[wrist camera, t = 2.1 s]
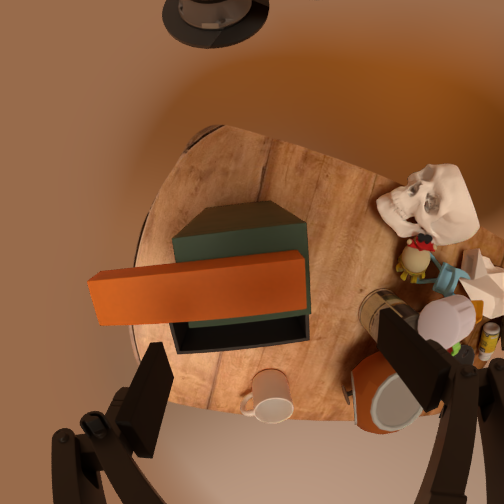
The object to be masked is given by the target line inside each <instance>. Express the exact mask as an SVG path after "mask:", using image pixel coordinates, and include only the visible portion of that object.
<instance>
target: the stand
mask: <svg viewBox="0 0 504 504" xmlns="http://www.w3.org/2000/svg"><path fill="white" fill-rule="evenodd" d="M172 243H173V249H174V255H175V260H176V263H181V262H190V261H199V260H208V259H218V258H227V257H236V256H245V255H254V254H263V253H272V252H281V251H290V250H298V251H299V253H300V254H301V255H302V256H303V257H304V259H305V275H306V301H307V308H306V309H302V310H294V311H287V312H279V313H271V314H262V315H254V316H245V317H235V318H225V319H214V320H202V321H189V322H188V324H189V328H196V327H208V326H219V325H229V324H238V323H247V322H256V321H264V320H272V319H280V318H287V317H294V316H301V315H308V314H311V296H310V273H309V254H308V238H307V224H306V222H304V221H303V220H301V219H299V218H298V217H296V216H295V215H293V214H292V213H290V212H288V211H287V210H285V209H284V208H282V207H280V206H279V205H277V204H276V203H274V202H272V201H271V200H270V201H260V202H251V203H242V204H234V205H226V206H218V207H210V208H206V209H204V210H203V211H202V212H201V213H200V214H199V215H198V216H196V217H195V218H194V219H193V220H192V221H191V222H190V223H189V224H188V225H186V226H185V227H184V228H183V229H182V230H181V231H180V232H179V233H178V234H177V235H175V236H174V237H173V238H172Z"/></svg>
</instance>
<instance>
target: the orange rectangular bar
mask: <svg viewBox="0 0 504 504" xmlns="http://www.w3.org/2000/svg"><path fill="white" fill-rule="evenodd" d="M87 283H88V287H89V291H90V294H91V298H92V302H93V305H94V308H95V311H96V315H97V318H98V321H99V324H100V326H105V325H106V326H107V325H108V326H109V325H138V324H159V323H175V322H189V321H202V320H214V319H225V318H235V317H245V316H254V315H262V314H271V313H279V312H287V311H294V310H302V309H306V308H307V301H306V275H305V259H304V257H303V256H302V255H301V254H300V253H299V251H298V250H290V251H281V252H272V253H263V254H254V255H245V256H236V257H227V258H218V259H208V260H199V261H190V262H181V263H172V264H162V265H153V266H144V267H134V268H125V269H116V270H106V271H100V272H99V273H97V274H96V275H95V276H94V277H92V278H91V279H89V280H88V281H87Z"/></svg>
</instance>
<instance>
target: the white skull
mask: <svg viewBox="0 0 504 504" xmlns="http://www.w3.org/2000/svg"><path fill="white" fill-rule="evenodd" d="M376 203H377V209H378V211H379V213H380V215H381V217H382V219H383V220H384V221H385V223H386V224H388V225H389V226H390V227H391V228H392V229H393V230H394V231H395V232H396V233H397V235H398V236H400V237H403V238H406V237H411V236H416V235H418V234H419V233H423V234H424V235H426V234H428V235H431V236H432V238H433V239H432V241H431V244H432V243H434V244H436V245H449V244H454V243H458V242H462V241H465V240H467V239H469V238H471V237H472V236H473V235H474V234H475V233H476V232H477V231H478V229H479V227H480V225H479V221H478V218H477V215H476V212H475V209H474V206H473V203H472V200H471V197H470V195H469V192H468V189H467V187H466V185H465V182H464V179H463V177H462V175H461V173H460V170H459V168H458V167H457V166H456V165H452V164H439V165H432V164H428V165H426V167H425V168H424V169H422V170H421V171H419V172H414V173H412V174H411V175H410V176H409V177H408V184H407V185H406V186H404V187H402V186H400V187H398V188H396V189H394V190H392V191H391V192H390V193H386V194H384V195H382V196H380V197H379V198H378V199H377V200H376ZM414 216H415V220H416V221H417V224H413V223H410V222H407V221H406V219H408V218H409V217H414ZM421 227H422V228H424V230H423V229H421Z"/></svg>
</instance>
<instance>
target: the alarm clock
mask: <svg viewBox="0 0 504 504" xmlns="http://www.w3.org/2000/svg"><path fill="white" fill-rule="evenodd" d="M351 380H352V392H353V405H354V418H355V425H357V426H358V427H360V428H361V429H363V430H364V431H367V432H371V433H376V434H388V433H393V432H397V431H399V430H401V429H403V428H405V427H406V426H408V425H410V424H411V423H413V422H414V421H415V420H416V418H417V417H418V416H419V415H420V414H421V413H422V411H423V408H422V407H421V405H420V404H419V403H418V401H417V400H416V399H415V397H414V396H413V394H412V393H411V392H410V390H409V389H408V388H407V386H406V385H405V384H404V382H403V381H402V380H401V378H400V377H399V376H398V374H397V373H396V372H395V370H394V369H393V368H392V366H391V365H390V364H389V362H388V361H387V360H386V358H385V357H384V356H383V354H382V353H381V352H380V351H378V352H376V353H374V354H372V355H370V356H368V357H366V358H365V359H363V360H362V361H361V362H360V363H359V364H358V365H357V366H356V367H355V368H354V369H353V371H351Z"/></svg>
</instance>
